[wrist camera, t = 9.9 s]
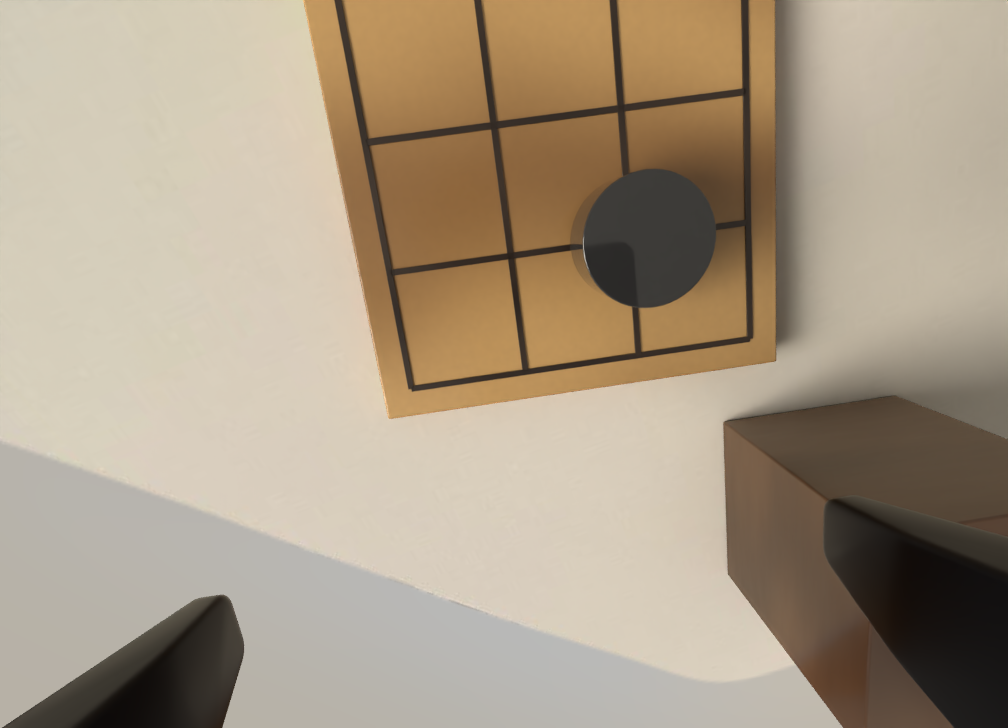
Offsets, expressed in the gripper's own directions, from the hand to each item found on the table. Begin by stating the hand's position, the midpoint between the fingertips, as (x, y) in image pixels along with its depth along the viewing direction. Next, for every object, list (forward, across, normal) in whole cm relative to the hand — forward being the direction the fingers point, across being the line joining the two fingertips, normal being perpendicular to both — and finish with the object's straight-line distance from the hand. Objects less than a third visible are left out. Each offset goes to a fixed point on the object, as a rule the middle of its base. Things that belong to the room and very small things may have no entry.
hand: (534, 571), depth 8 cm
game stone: (+11, -5, -4) cm, 12 cm away
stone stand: (+12, -12, +7) cm, 18 cm away
